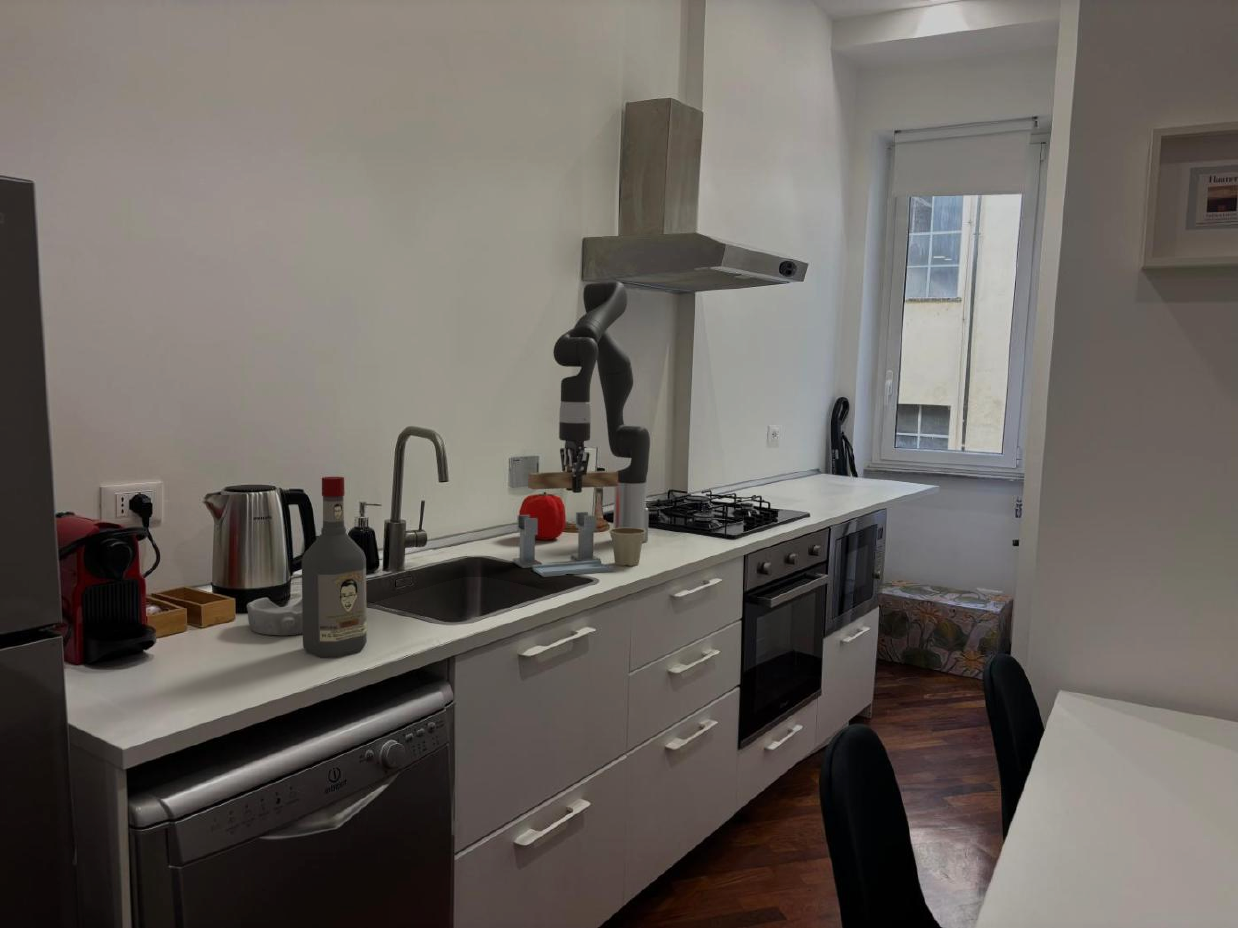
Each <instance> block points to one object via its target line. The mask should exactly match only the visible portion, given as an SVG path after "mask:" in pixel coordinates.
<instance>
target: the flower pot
mask: <svg viewBox="0 0 1238 928" xmlns="http://www.w3.org/2000/svg"><path fill="white" fill-rule="evenodd" d="M645 532H646V531H645V530H644V529H639V528H614V527H613V528H611V529H609V530H608V533H609V534H610V535H609V536H610V538H611V541H612V542H611V543H612V549H613V559H614V564H615V565H617V566H622V567H625V566H629V567H634V566H637V565H640V559H641V552H642V547H643V542H642V540H643V538H644V533H645Z"/></svg>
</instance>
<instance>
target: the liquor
mask: <svg viewBox="0 0 1238 928" xmlns="http://www.w3.org/2000/svg"><path fill="white" fill-rule="evenodd" d="M321 496H322V527H321V530H320V532H321V534H320V535H319V536H318V537H317V538H316V539H315V541H314V542H313V543H312V544H311V545H309V547H308V548H307V550H306V551H305V552H304V553H303V556H302V558H301V597H302V598H301V599H302V615H303V633H302V647H303V648H304V651H305V652H306V653H309V654H310V655H314V656H315V657H318V658H320V659H324V658H325V659H329V658H331V659H335V658H340V657H344V656H348V655H353V654H356V653H361V652H362V650H363V649H364V648H365V646H366V645H367V641H368V639H367V637H368V635H367V557H366V555H365V552H364V550H363V548H361V547H360V546H359V545H358V544H357V543H356V542H355V540H353V539H352V538H351V537H350V535H349V534H348V533H347V528H346V526H345V506H344V505H345V503H344V500H345V499H344V496H345V477H344V476H323V477H321Z"/></svg>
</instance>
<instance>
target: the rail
mask: <svg viewBox="0 0 1238 928" xmlns="http://www.w3.org/2000/svg"><path fill="white" fill-rule="evenodd" d="M527 478H528V479H527V480H528V482H527V483H528V489H531V490H549V489H550V490H551V489H552V490H553V489H554V490H555V489H556V490H558V489H566V488H572V479H573V476H572V472H563V471H558V472H557V471H556V472H554V471H553V472H551V471H550V472H528V477H527ZM614 486H618V472H616V471H615V470H595V471H593V470H592V471H591V470H589V471H588V470H587V473H586V475H583V477H582V489H583V488H586V489H587V488H610V487H613V488H614Z"/></svg>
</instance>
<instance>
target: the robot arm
mask: <svg viewBox="0 0 1238 928" xmlns="http://www.w3.org/2000/svg"><path fill="white" fill-rule="evenodd" d="M582 294H583V295H582V297H583V305H584V310H585V314H583V315H582V316H581V317H580V318H579V319H578V321H577V322H576V324H575V325H574V326H573V328H571V329H569V330H568V331H567V332H565V333H563V334H562V335H561V336H560V337H559V338H558V339H557V340H556V341H555V343H554V346H553V351H552V352H553V359H554V361H555V362H556V363H557V364H558V365H560V366H562V367H567V368H568V367H571V368H573V367H574V368H576V367H577V368H580V370H579V372H578V373H577V374H576V375H571V376H566V377H564V378H563V379H562V380H561V382H560V405H559V406H560V407H559V414H558V415H559V417H558V420H559V422H558V424H559V425H558V439H559V440H560V441H562V442H563V441H564V447H560V449H559V454H560V461H561V462H560V463H561V469H562V471H561V472H572V476H573V479H572V488H565V490H566V491H568V492H569V491H570V492H571V491H572V493H574V494H576V493H577V494H579V493H582V492H583V491H582V489H583V488H582V477H583V475H586V473H587V471H588V466H589V461H590V455H591V454H590V452H587V451H585V442H588V441H590V440H591V418H592V417H591V416H592V415H591V405H590V403H591V402H590V401H591V383H592V378H593V377H592V376H593V373H594V369H595V367H596V365H597V371H598V378H599V382H600V386H601V390H602V391H601V392H602V397H603V402H604V408H605V416H606V426H607V437H608V445H609V449H610V452H611V453H612V455H613V456H614V457H616V458H624V459H630V464H629V465H628V466H627V467H625V468H622V469H620V470H617V471H615V472H618V486H614V487H613V488H614V489H613V528H639V529H644V530H645V531H646V532H645V533H644V538H643V540H642V543H644V542H648V541H649V511H650V510H649V508H648V507H647V477H648V471H649V461H650V449H651V447H650V446H651V437H650V433H649V431H648V429H647V428H646V427H644V426H637V425H625V421H624V407H625V404H626V403H627V401H628V398H629V396H630V394H631V391H632V389H633V386H634V375H633V370H632V363H631V359H630V357H629V355H628V354H627V352H626V351H625V350H624V349H623V348H622V346H621V345H620V344H619V343H618V342H617V341H616V340H615V339H614V338H613V336H612V335H611V334H610V331H609V330H608V328H610V327H611V325H613V324H614V323H615V322H616V321H617V320H618V319H620V318H621V316H622V315H624V313H625V311H626V309H627V305H628V294H627V290H626V287H625V285H624V283H622V282H620V281H616V280H615V281H614V280H612V281H611V280H610V281H604V282H603V281H601V282H600V281H599V282H591V283H588V284H586V285H585V286H584V288H583V293H582Z"/></svg>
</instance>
